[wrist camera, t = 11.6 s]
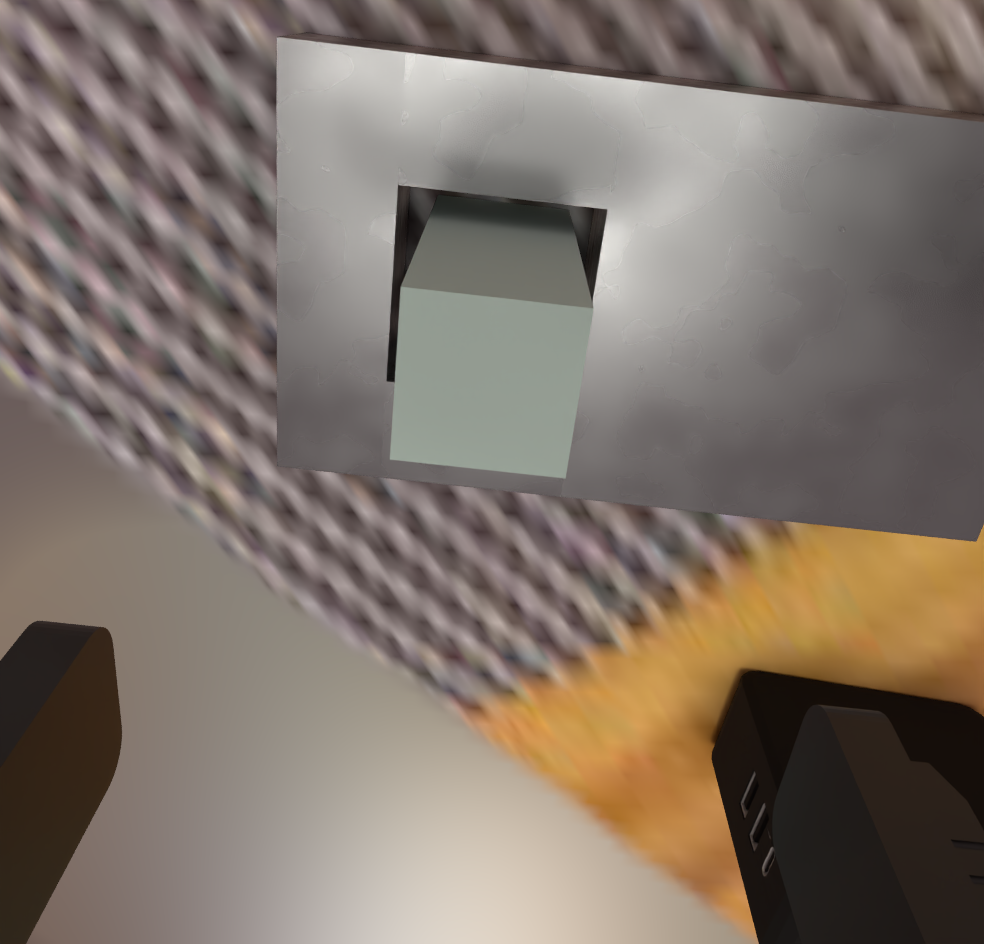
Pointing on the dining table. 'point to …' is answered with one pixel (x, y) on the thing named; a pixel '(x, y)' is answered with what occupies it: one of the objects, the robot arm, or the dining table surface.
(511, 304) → the sage green square post
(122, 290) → the dining table surface
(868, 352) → the grey peg hole base
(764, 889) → the electronic device
